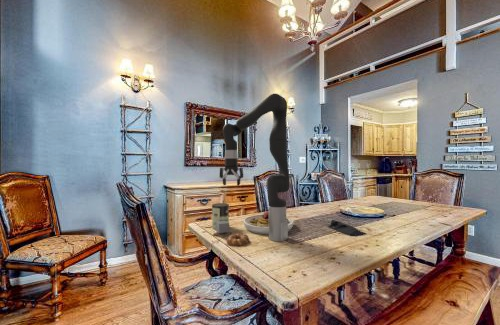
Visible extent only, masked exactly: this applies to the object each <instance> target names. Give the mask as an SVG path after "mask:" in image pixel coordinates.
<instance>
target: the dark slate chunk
mask: <svg viewBox="0 0 500 325" xmlns="http://www.w3.org/2000/svg"><path fill="white" fill-rule="evenodd" d="M326 227H327V228H329V229H332V230H335V231H336V232H338V233H342V234H344V235H347V236H349V237H352V236H356V237H357V236H365V235H367V233H366V232H364V231H362V230H359V229H358V228H356V227H354V226H352V225H350V224H348V223H344V222H342V221H339V220H336V219H331V223H330V224H329V225H327V226H326Z"/></svg>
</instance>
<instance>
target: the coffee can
mask: <svg viewBox="0 0 500 325" xmlns="http://www.w3.org/2000/svg"><path fill="white" fill-rule="evenodd" d="M229 207H230V204H229V203H220V202H219V203H213V204H211V216H212V219H211V222H212V224H211V226H212V229H213V230H215V231H216V222H217V221H224V220H226V221H227V222H229V223H230V220H229V219H230V217H229V216H230V215H229V213H230V212H229Z"/></svg>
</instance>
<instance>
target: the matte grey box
mask: <svg viewBox="0 0 500 325" xmlns="http://www.w3.org/2000/svg"><path fill="white" fill-rule="evenodd" d="M215 231H216V232H218V233H226V232H230V221H229V222H227V221H226V220H224V221H217V222H216V230H215Z"/></svg>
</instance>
